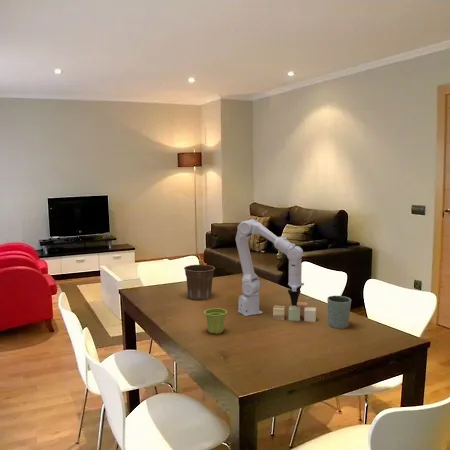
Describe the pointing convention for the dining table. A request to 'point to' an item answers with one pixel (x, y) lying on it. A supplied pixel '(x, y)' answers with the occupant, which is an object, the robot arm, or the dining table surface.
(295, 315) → the sage block
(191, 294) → the plant pot
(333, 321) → the blue-grey tapered cup
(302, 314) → the terracotta block
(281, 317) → the maple block
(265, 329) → the dining table surface
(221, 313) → the plant pot
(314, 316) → the offwhite block
